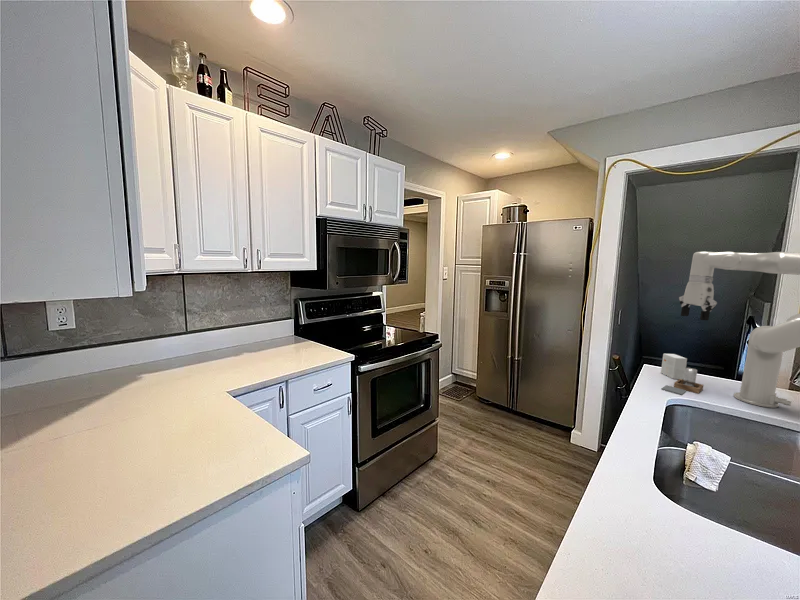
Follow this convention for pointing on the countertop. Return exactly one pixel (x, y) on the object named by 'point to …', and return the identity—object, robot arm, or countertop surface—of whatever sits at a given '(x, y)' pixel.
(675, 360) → the small box
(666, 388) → the pad
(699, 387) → the frame
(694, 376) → the peg
